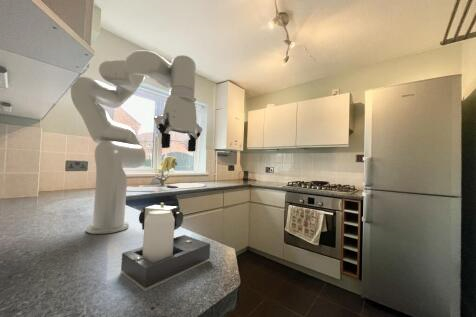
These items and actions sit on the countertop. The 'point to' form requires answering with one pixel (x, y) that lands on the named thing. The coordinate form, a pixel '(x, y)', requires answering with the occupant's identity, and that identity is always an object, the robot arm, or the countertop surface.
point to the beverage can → (158, 235)
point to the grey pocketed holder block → (165, 262)
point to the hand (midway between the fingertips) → (179, 149)
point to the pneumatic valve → (175, 210)
